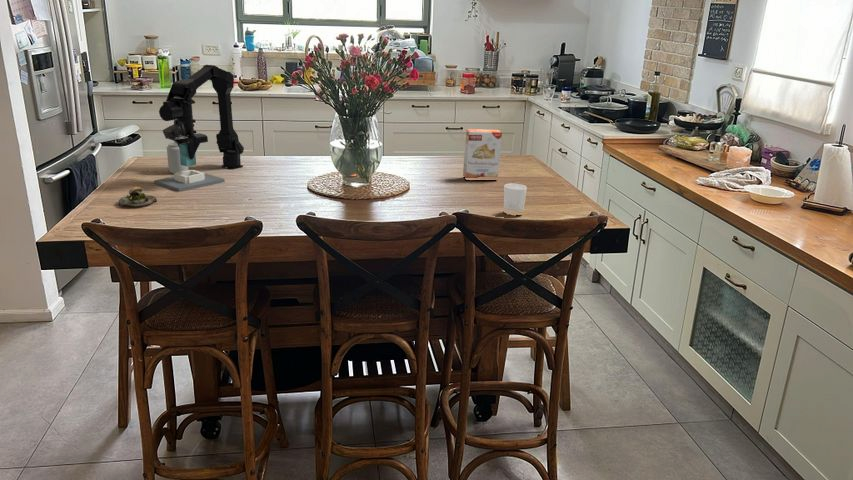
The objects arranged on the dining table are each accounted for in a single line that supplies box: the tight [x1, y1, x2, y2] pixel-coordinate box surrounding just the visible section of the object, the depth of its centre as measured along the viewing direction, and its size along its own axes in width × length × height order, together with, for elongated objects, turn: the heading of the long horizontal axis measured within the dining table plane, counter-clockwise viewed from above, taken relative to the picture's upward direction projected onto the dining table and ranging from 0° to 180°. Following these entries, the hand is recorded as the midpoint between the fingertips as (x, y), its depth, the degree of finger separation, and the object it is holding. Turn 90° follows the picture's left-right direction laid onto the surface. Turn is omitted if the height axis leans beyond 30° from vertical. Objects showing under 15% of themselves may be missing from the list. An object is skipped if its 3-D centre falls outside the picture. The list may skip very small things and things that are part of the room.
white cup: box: [503, 183, 528, 211], centre depth 233 cm, size 8×8×10 cm
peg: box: [179, 143, 197, 168], centre depth 250 cm, size 4×4×8 cm
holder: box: [153, 169, 226, 193], centre depth 253 cm, size 20×16×4 cm
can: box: [166, 141, 189, 175], centre depth 265 cm, size 8×8×12 cm
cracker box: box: [462, 128, 503, 178], centre depth 275 cm, size 14×6×21 cm, turn 99°
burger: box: [118, 183, 158, 209], centre depth 226 cm, size 12×12×8 cm
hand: (188, 158), depth 251 cm, fingers closed on peg, 4 cm apart
